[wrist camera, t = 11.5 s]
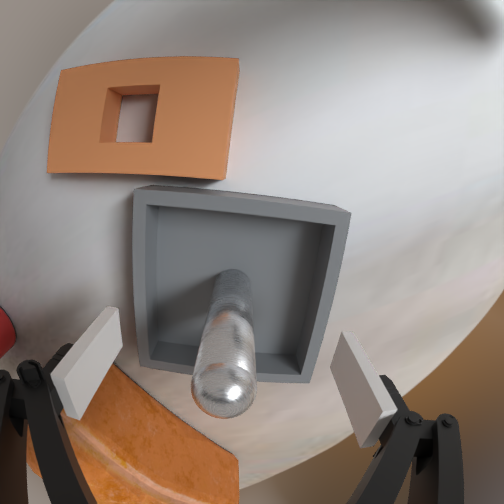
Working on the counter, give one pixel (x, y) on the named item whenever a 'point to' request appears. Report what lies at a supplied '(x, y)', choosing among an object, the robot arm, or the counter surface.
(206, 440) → the bread
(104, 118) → the orange block with hole
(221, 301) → the pin
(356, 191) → the counter surface
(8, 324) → the beer can
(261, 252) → the tray
